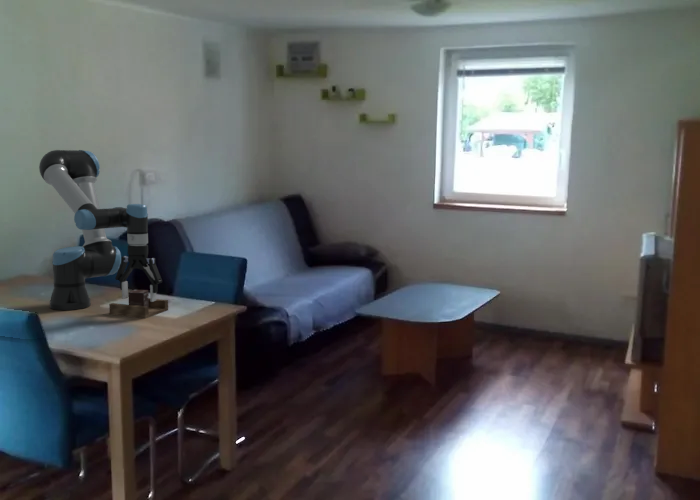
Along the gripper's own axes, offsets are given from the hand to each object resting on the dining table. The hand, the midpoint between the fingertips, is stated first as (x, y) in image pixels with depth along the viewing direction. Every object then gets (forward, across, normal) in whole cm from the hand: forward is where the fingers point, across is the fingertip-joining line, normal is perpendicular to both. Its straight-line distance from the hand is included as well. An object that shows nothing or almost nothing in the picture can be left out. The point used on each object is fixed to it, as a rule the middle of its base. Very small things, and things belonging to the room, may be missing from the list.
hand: (139, 299), depth 265 cm
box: (+4, 0, 0) cm, 4 cm away
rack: (+5, 0, 0) cm, 5 cm away
